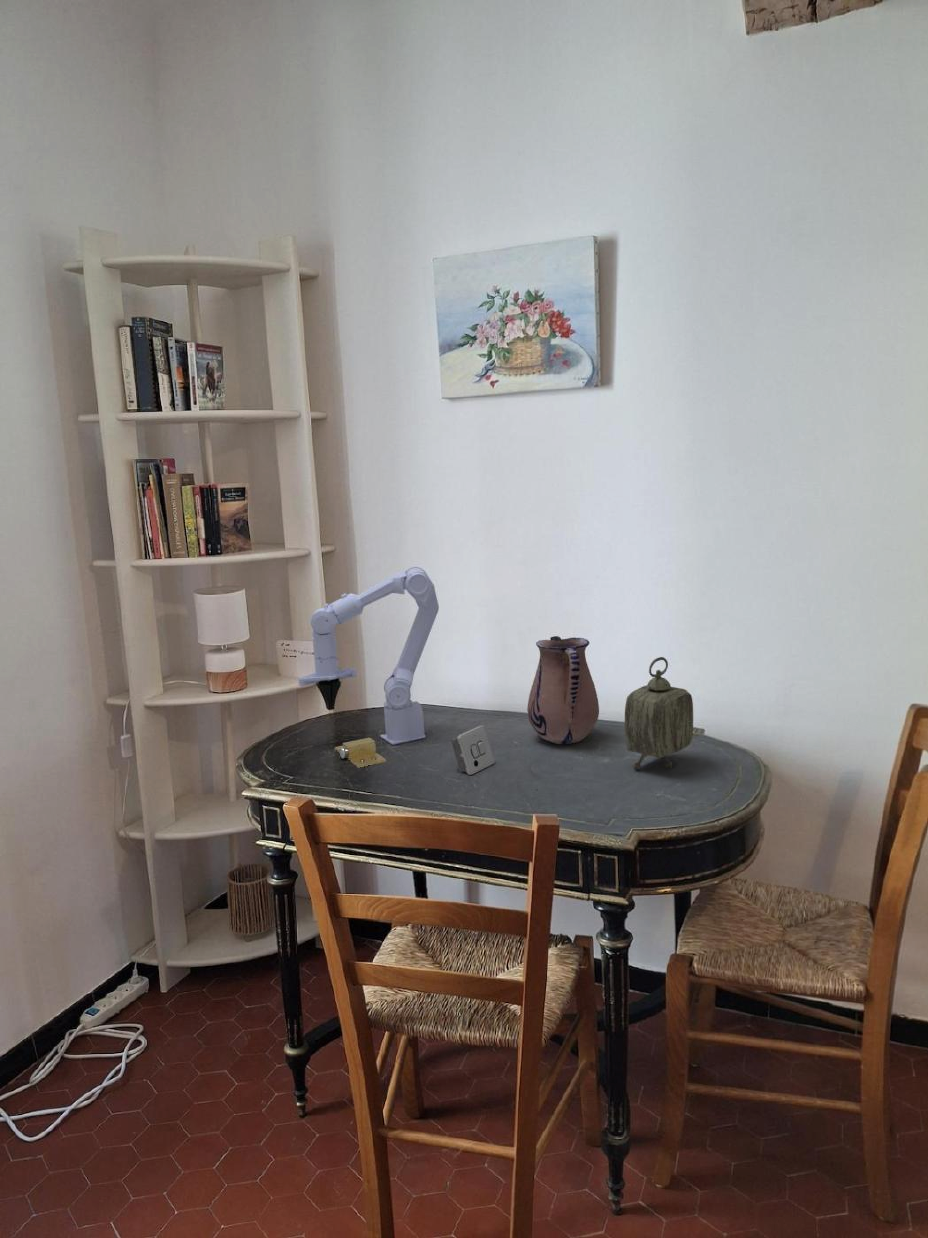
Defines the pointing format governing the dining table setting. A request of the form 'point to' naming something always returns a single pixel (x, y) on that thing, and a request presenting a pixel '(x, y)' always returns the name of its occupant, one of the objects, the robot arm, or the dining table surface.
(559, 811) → the dining table surface
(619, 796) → the dining table surface
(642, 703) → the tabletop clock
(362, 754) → the hinge leaves
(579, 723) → the ceramic pitcher
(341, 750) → the hinge pin
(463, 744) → the electrical switch
